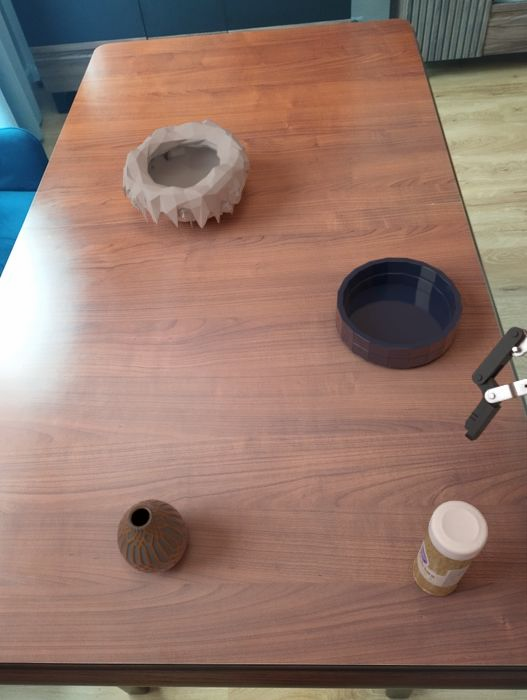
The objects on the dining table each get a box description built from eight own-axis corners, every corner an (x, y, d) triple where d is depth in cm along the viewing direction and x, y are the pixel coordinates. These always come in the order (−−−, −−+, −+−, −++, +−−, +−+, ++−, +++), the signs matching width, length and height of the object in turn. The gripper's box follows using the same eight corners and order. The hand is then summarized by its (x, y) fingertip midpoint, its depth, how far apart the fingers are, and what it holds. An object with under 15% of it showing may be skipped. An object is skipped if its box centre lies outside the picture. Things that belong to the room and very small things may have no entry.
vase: (139, 593, 60) (114, 566, 53) (120, 532, 64) (96, 500, 57) (201, 563, 61) (186, 533, 54) (180, 506, 65) (163, 471, 58)
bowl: (279, 184, 98) (275, 130, 90) (212, 262, 88) (201, 209, 80) (179, 155, 106) (168, 103, 98) (108, 223, 96) (88, 171, 88)
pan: (475, 355, 74) (482, 333, 70) (356, 381, 73) (357, 360, 69) (429, 271, 83) (434, 247, 80) (323, 293, 82) (323, 270, 79)
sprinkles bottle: (404, 560, 59) (421, 509, 49) (444, 544, 60) (470, 490, 49) (425, 605, 57) (449, 561, 46) (468, 588, 57) (500, 541, 47)
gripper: (546, 257, 45) (429, 421, 51) (741, 362, 38) (583, 540, 43) (562, 271, 52) (457, 415, 57) (733, 363, 44) (595, 520, 50)
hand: (512, 470), depth 50 cm, fingers open, 8 cm apart
